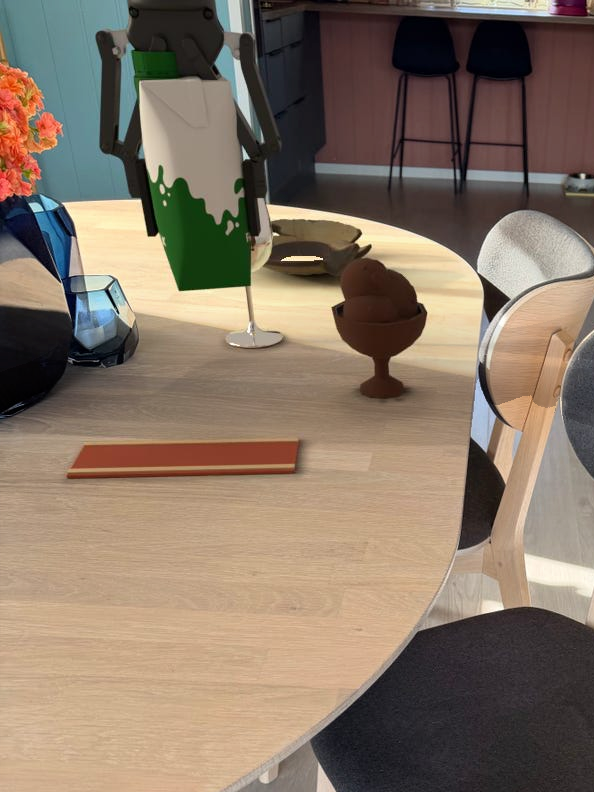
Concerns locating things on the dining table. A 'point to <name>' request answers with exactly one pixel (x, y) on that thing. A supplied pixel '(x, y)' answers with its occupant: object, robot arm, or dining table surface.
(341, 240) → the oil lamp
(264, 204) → the wineglass
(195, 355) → the dining table surface
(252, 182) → the robot arm
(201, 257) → the soya milk
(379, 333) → the ice cream bowl
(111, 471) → the reddish-brown flat board
